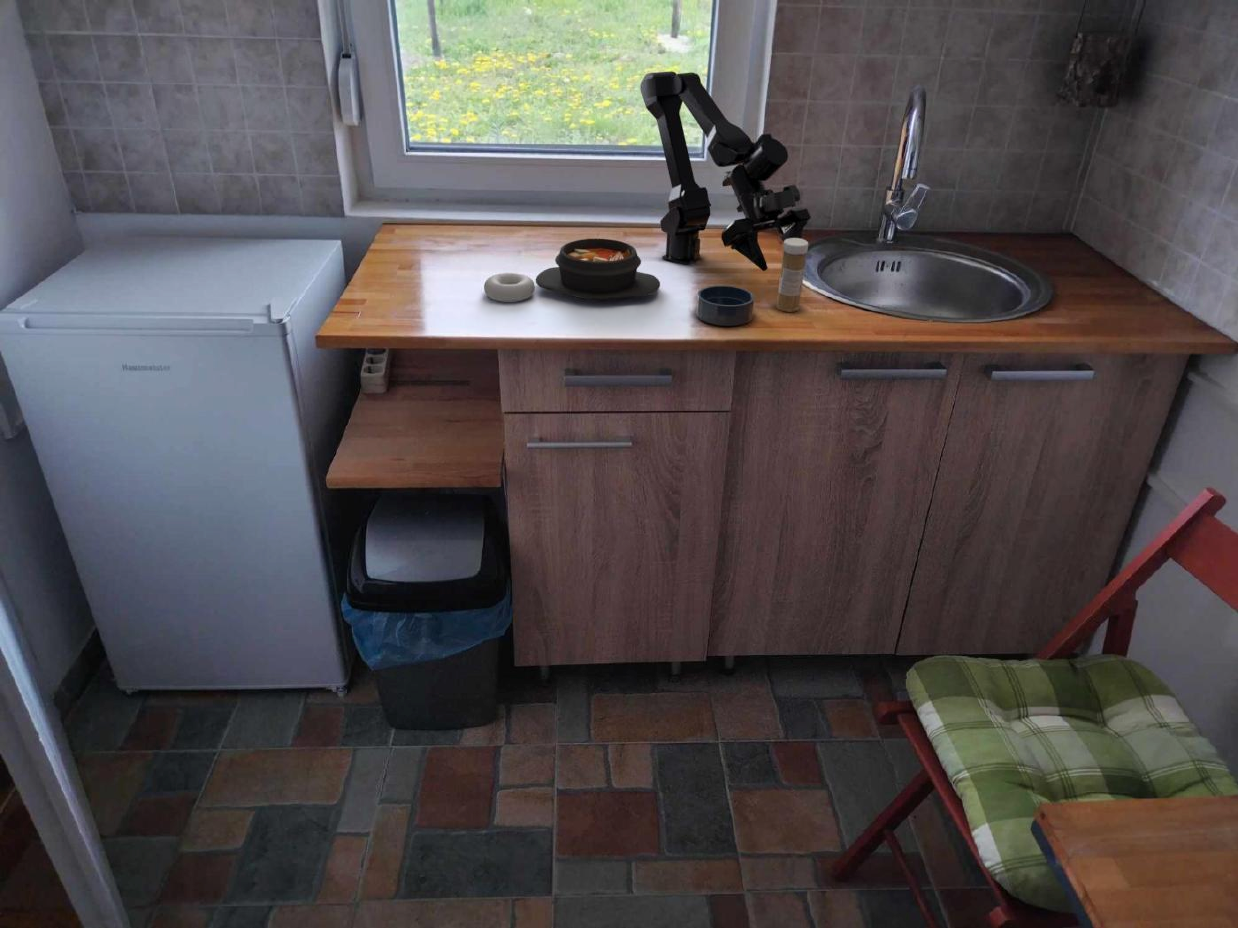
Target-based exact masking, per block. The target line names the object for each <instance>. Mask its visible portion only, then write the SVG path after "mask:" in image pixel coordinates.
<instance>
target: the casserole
mask: <svg viewBox="0 0 1238 928" xmlns="http://www.w3.org/2000/svg"><path fill="white" fill-rule="evenodd" d="M554 262H555V264H556V265H557V266H554V267H549V268H546V269H544V270H543V271H541V272H539V274H538V275H537V276H535V277H536V278H535V284H536V285H537V286H538V287H539V288H541V289H545V290H548V291H554V292H559V293H563V294H566V295H568V296H572V297H576V298H580V299H585V300H592V301H594V300H595V301H603V300H604V301H606V300H614V299H620V298H629V297H630V298H633V297H646V296H649V295H652V294H654V293H656V292H657V291H658V290H659V289H660V287H661V282H660V280H659V279H658V278H657V277H656V276H655V275H653V274H650V273H645V272H641V271H638V268H639V267H640V265H641V264H642V259H641V257H639V255H638V253H637V249H636V248H635V247H634V246H633V245H631V244H629V243H627V242H624V241H621V240H615V239H608V238H584V239H583V238H582V239H577V240H573V241H570V242H567V243H565V244H563V245H562V246H561V247H560V250H559V252H558V255H556V257H555V259H554Z"/></svg>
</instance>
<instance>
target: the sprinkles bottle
mask: <svg viewBox="0 0 1238 928" xmlns="http://www.w3.org/2000/svg"><path fill="white" fill-rule="evenodd" d="M782 245H783V246H782V251H783V252H782V253H783V254H782V261H781V269H780V276H779V281H778V282H779V283H778V291H777V293H778V294H777V299H776V300H777V302H776V305H775V306H776V308H777V309H778V310H780V311H782V312H785V313H786V312H787V313H793V312H794V313H795V312H796V311H799V309H800V299H801V294H802V291H803V290H802V289H803V281H804V275H805V265H806V258H807V253H808V249H809V241H807V240H806V239H804V238H802V239H800V238H789V239H786V240H785V241H784V242H783V244H782Z"/></svg>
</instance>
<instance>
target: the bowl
mask: <svg viewBox="0 0 1238 928" xmlns="http://www.w3.org/2000/svg"><path fill="white" fill-rule="evenodd" d="M696 296H697V297H696V309H695V314H696V315H695V316H696V317H697V318H698V319H700V321H702V322H705V323H707V324H710V325H715V326H721V327H735V326H736V327H737V326H742V325H745V324H748V323H749V322H751V320H752V319H753V317H754V315H753V314H754V306H755V295H754V293H752V292H751V291H749V289H748V290H747V289H746V288H742V287H739V286H734V285H724V284H723V285H710V286H707V287H706V286H705V287H702V288H701V289H700V290H698V292H697V295H696Z"/></svg>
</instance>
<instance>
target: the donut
mask: <svg viewBox="0 0 1238 928" xmlns="http://www.w3.org/2000/svg"><path fill="white" fill-rule="evenodd" d="M483 290H484V293H485V295H487V297H488V298H490V299H492V300H494V301H497V302H502V303H515V302H516V303H517V302H521V301H525V300H527V299H529V298H531V296H533V294H534V292H535V290H536V285H535V281H534V280H533V279H532V278H531V277H529V276H528V275H526V274H523V273H519V272H500V273H496V274H493V275H491V276H489V277H488V278H487V279H486V280H485V282H484V283H483Z"/></svg>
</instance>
